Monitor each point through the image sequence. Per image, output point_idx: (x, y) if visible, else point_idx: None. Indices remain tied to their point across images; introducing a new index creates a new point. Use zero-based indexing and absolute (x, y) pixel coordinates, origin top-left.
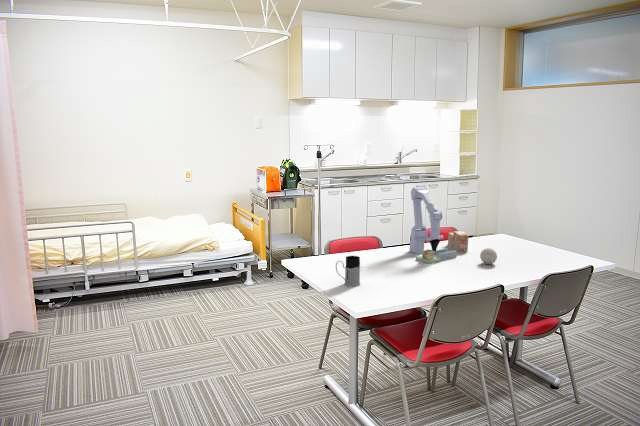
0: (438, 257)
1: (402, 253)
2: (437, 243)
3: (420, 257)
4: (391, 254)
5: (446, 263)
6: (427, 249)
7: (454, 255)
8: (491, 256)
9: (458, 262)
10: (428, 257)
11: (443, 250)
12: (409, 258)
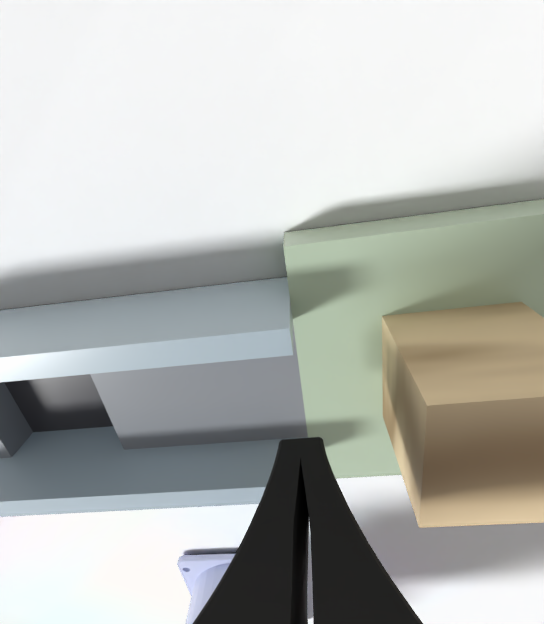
0: (290, 304)
1: None
2: (270, 618)
3: None
4: (513, 620)
5: (264, 103)
6: (445, 520)
7: None
8: None
9: (13, 52)
10: (536, 319)
11: (32, 484)
12: None
